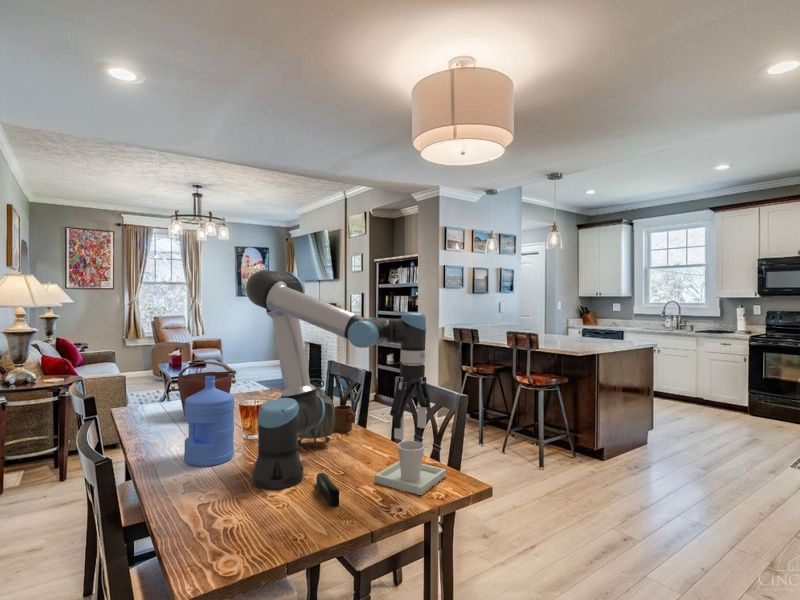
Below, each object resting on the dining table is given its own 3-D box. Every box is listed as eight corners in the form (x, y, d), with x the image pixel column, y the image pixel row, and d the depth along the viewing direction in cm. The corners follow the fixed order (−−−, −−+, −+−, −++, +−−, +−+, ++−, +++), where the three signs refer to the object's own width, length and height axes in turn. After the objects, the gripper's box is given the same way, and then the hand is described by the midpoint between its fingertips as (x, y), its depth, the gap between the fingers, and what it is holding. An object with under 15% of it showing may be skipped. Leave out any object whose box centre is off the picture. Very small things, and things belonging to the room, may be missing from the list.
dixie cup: (422, 472, 141) (423, 440, 141) (425, 483, 133) (425, 449, 133) (396, 471, 141) (396, 440, 141) (397, 483, 133) (397, 449, 132)
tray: (421, 496, 126) (421, 487, 126) (374, 483, 135) (374, 475, 135) (446, 477, 140) (446, 469, 140) (402, 466, 148) (402, 458, 148)
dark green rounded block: (341, 488, 120) (322, 468, 133) (330, 491, 118) (312, 470, 131) (341, 507, 120) (321, 484, 133) (330, 509, 118) (311, 486, 131)
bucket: (243, 412, 212) (244, 359, 211) (214, 426, 190) (214, 367, 190) (198, 409, 217) (198, 357, 217) (164, 421, 196) (165, 364, 196)
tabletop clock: (331, 439, 174) (332, 375, 174) (335, 447, 165) (336, 379, 165) (293, 443, 170) (294, 377, 169) (295, 451, 161) (296, 381, 161)
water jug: (216, 447, 164) (217, 371, 163) (243, 457, 154) (244, 376, 154) (174, 460, 151) (175, 377, 150) (200, 471, 142) (201, 382, 141)
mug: (361, 432, 183) (362, 409, 183) (346, 436, 178) (346, 412, 178) (345, 426, 192) (345, 404, 192) (330, 429, 188) (330, 406, 187)
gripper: (401, 370, 124) (399, 446, 125) (442, 360, 145) (440, 425, 146) (379, 367, 128) (377, 441, 129) (421, 357, 149) (420, 421, 150)
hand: (410, 433), depth 137 cm, fingers open, 13 cm apart
